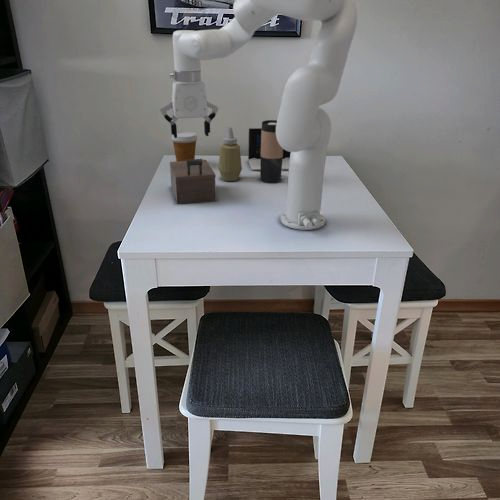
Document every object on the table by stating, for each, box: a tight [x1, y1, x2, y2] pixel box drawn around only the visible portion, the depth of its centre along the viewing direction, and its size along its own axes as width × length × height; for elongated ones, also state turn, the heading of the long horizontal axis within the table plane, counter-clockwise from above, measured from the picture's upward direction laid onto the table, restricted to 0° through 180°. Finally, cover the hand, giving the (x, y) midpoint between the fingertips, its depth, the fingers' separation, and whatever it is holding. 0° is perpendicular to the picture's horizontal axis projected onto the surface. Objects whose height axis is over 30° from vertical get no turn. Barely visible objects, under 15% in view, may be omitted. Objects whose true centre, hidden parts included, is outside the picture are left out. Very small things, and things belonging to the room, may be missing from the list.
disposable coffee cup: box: [170, 131, 198, 162], centre depth 177 cm, size 10×10×12 cm
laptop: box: [247, 127, 291, 171], centre depth 179 cm, size 18×12×13 cm
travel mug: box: [260, 119, 283, 184], centre depth 162 cm, size 8×8×20 cm
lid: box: [169, 158, 217, 180], centre depth 147 cm, size 16×12×5 cm
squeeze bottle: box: [218, 126, 243, 182], centre depth 163 cm, size 8×8×18 cm
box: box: [169, 164, 217, 205], centre depth 151 cm, size 15×12×8 cm
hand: (191, 136), depth 145 cm, fingers open, 9 cm apart
